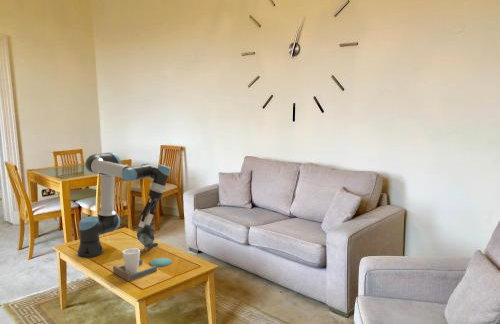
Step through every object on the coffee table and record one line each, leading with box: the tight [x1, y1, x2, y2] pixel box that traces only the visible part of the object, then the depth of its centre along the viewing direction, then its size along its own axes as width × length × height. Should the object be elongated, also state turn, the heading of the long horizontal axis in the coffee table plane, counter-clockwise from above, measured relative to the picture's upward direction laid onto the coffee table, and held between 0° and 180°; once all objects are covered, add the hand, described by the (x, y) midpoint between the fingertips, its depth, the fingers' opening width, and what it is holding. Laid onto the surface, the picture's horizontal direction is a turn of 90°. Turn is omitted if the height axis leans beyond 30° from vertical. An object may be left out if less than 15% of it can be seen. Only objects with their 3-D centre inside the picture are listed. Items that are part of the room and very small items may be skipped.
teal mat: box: [149, 257, 173, 268], centre depth 230 cm, size 13×13×1 cm
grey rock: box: [136, 220, 159, 252], centre depth 252 cm, size 14×15×18 cm
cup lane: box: [112, 259, 158, 282], centre depth 217 cm, size 16×18×4 cm
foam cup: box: [122, 247, 141, 275], centre depth 215 cm, size 10×9×13 cm
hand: (144, 225), depth 218 cm, fingers open, 13 cm apart
